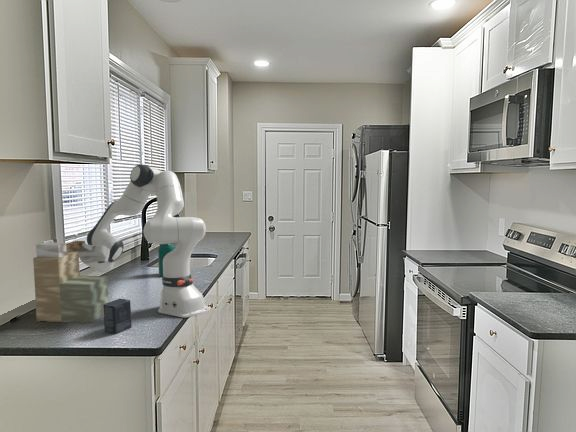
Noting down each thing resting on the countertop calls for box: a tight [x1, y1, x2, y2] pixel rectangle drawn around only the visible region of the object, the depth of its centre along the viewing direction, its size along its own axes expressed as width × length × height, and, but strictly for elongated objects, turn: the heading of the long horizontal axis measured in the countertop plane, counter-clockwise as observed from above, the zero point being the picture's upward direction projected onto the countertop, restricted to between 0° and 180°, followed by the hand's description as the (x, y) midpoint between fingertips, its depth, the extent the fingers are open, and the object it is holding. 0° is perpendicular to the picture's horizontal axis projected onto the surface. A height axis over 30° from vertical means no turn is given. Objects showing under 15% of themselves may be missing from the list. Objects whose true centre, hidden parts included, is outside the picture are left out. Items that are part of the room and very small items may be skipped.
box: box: [103, 298, 132, 335], centre depth 156 cm, size 8×6×11 cm
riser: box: [32, 252, 110, 324], centre depth 171 cm, size 14×22×25 cm, turn 86°
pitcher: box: [157, 243, 176, 278], centre depth 241 cm, size 10×8×22 cm
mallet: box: [35, 240, 86, 258], centre depth 176 cm, size 23×9×5 cm, turn 176°
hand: (75, 244), depth 183 cm, fingers open, 6 cm apart
